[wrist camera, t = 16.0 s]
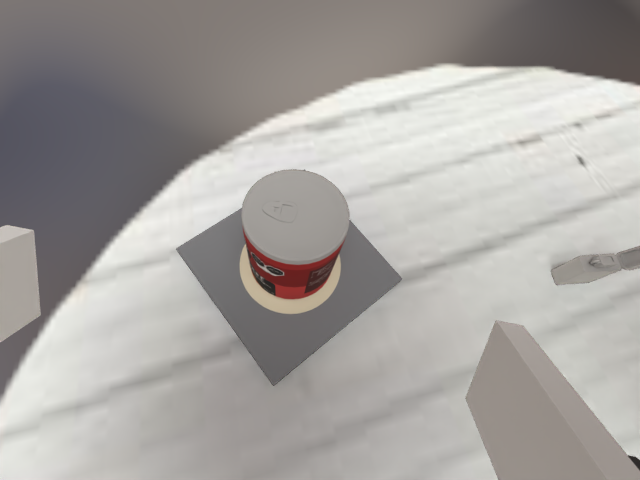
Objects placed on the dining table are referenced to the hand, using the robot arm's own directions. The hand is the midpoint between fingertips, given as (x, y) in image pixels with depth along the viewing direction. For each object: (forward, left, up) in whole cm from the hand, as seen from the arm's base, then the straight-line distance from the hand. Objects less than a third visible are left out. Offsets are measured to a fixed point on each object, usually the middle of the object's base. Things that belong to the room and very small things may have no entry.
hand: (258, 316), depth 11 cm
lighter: (-33, +13, -26) cm, 44 cm away
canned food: (-8, -7, -25) cm, 27 cm away
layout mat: (-8, -7, -26) cm, 28 cm away
